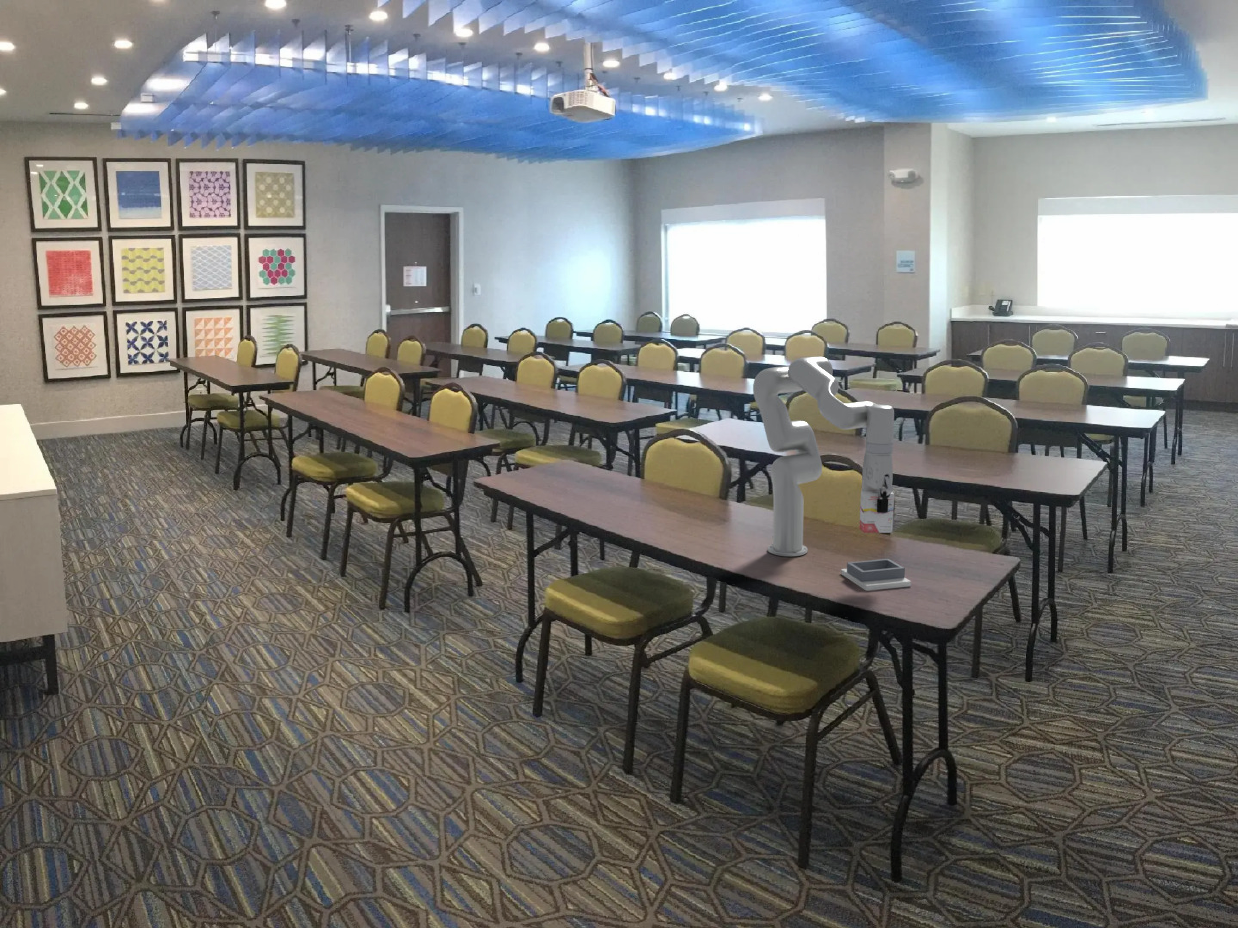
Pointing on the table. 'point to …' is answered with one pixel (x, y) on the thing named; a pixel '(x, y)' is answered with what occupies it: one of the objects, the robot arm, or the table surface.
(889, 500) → the ink cartridge box
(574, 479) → the table surface
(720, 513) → the table surface
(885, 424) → the robot arm
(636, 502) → the table surface
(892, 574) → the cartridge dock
